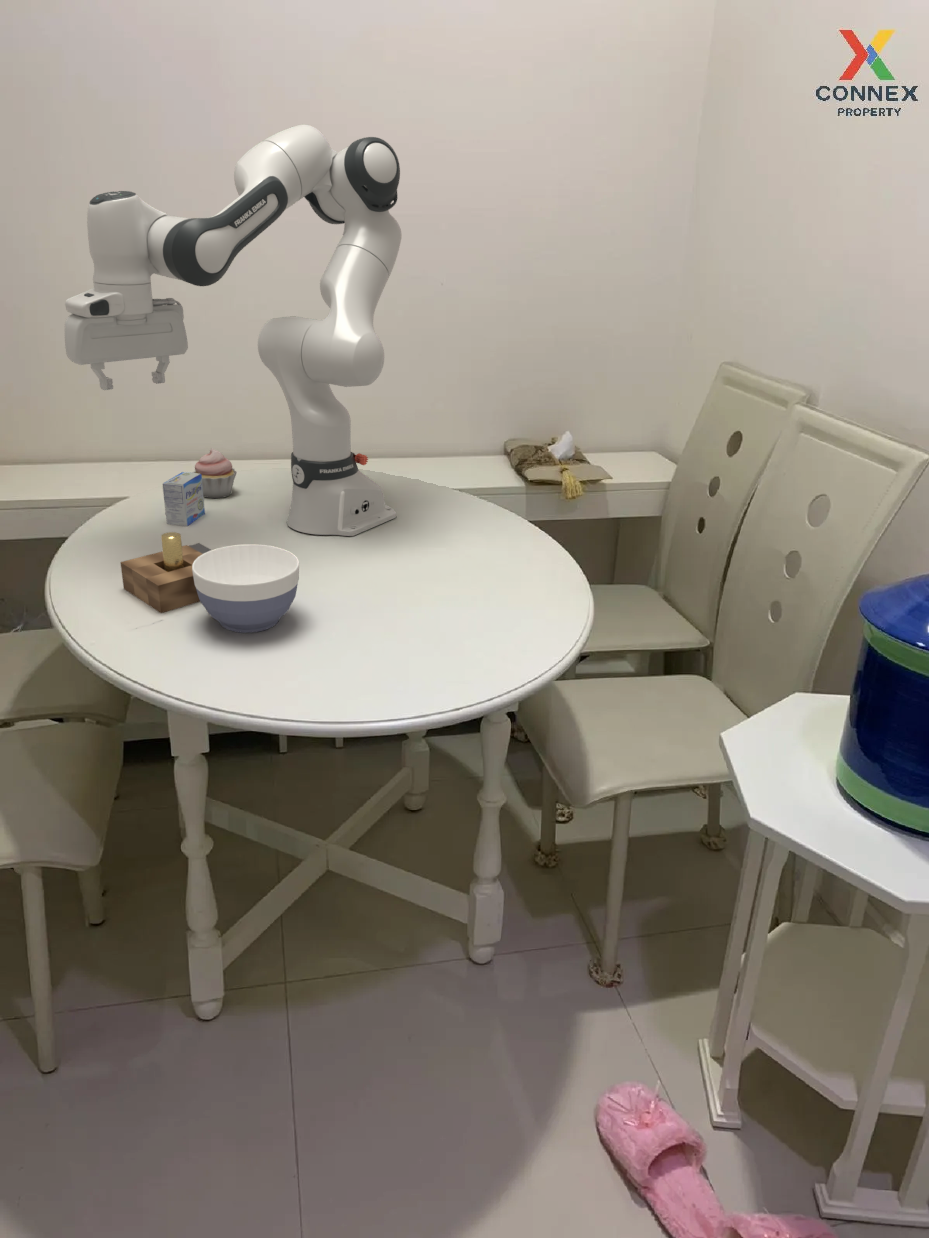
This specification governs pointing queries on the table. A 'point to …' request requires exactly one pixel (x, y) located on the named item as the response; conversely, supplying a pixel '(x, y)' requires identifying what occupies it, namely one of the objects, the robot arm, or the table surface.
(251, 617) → the bowl
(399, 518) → the table surface
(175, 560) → the brass peg
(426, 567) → the table surface
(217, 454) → the cupcake
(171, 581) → the hole block
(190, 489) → the medicine box
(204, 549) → the rubber mat
